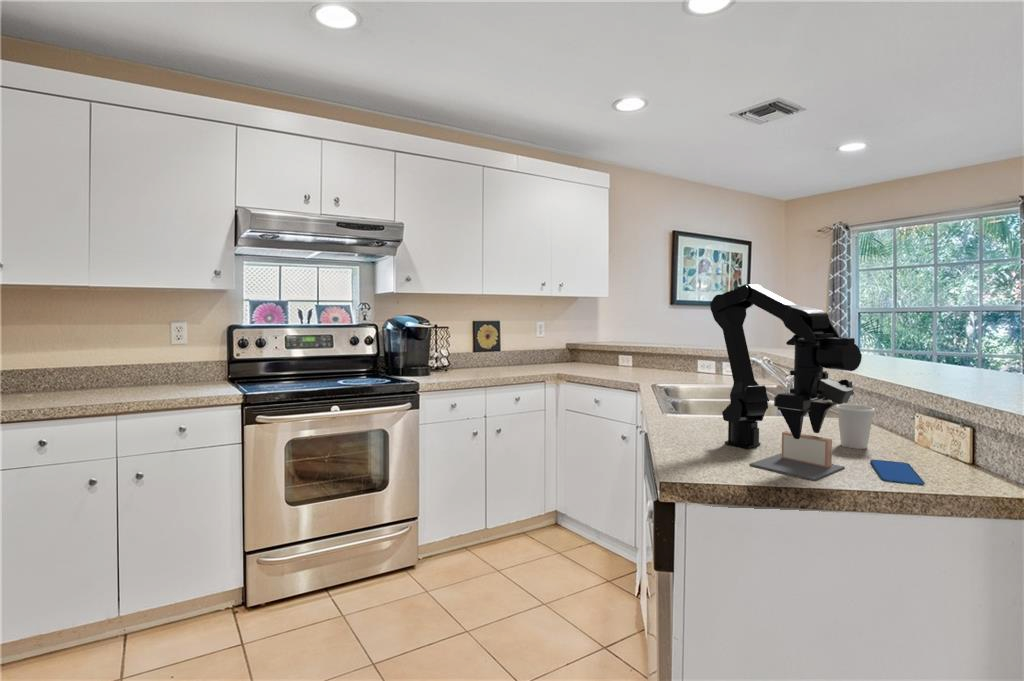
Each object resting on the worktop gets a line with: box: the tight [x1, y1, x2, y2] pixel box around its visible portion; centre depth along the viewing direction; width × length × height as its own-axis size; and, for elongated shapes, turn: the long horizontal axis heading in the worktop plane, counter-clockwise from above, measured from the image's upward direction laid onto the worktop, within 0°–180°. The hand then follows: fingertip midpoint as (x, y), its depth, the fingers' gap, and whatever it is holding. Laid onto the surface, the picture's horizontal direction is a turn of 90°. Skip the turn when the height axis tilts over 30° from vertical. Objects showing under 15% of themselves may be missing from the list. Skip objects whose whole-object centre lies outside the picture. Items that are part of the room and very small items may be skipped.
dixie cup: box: [835, 403, 876, 450], centre depth 140 cm, size 8×8×10 cm
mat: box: [749, 452, 846, 482], centre depth 122 cm, size 14×14×1 cm
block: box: [781, 430, 833, 468], centre depth 124 cm, size 10×2×6 cm, turn 37°
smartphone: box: [870, 459, 926, 486], centre depth 117 cm, size 7×1×15 cm
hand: (806, 435), depth 124 cm, fingers open, 9 cm apart
